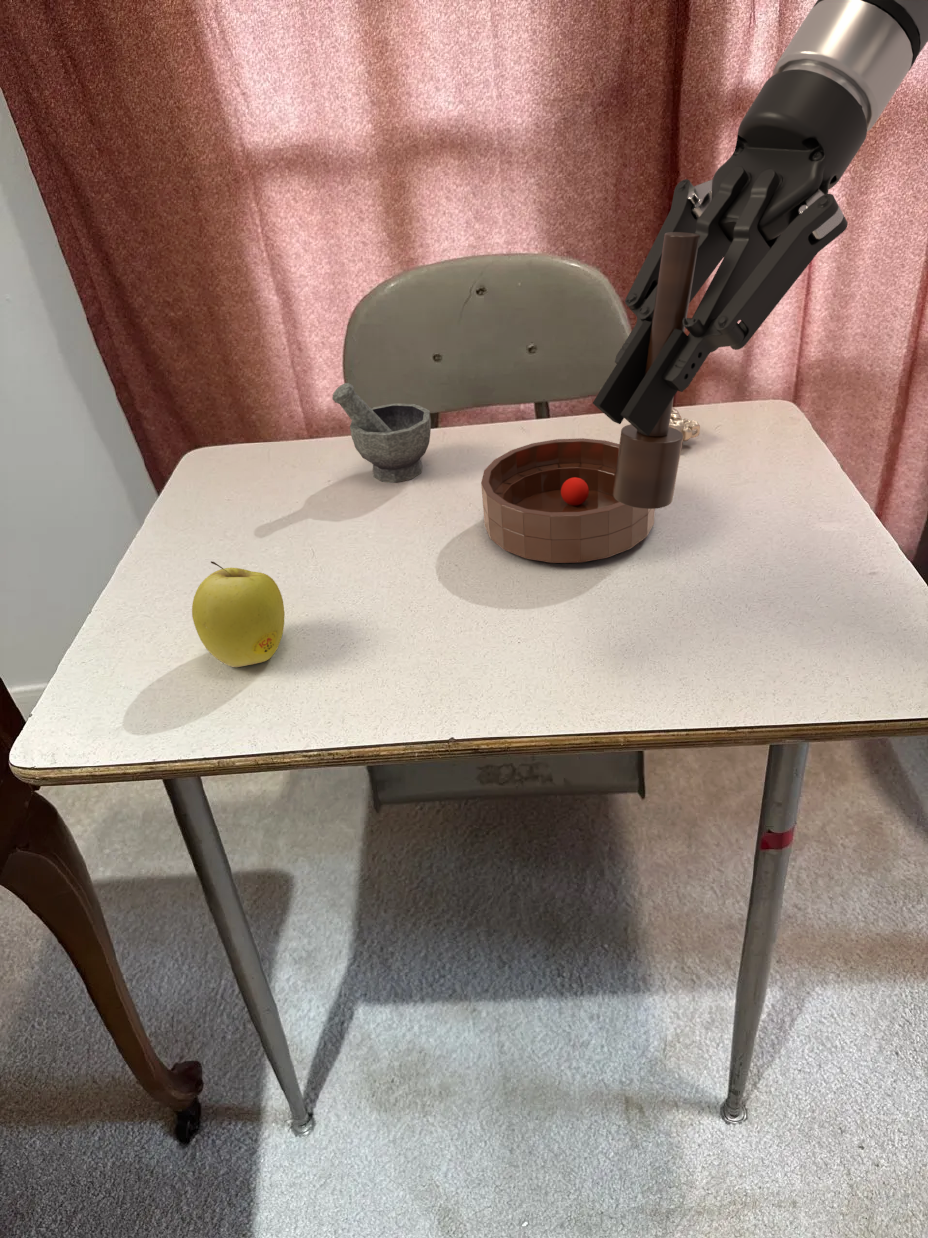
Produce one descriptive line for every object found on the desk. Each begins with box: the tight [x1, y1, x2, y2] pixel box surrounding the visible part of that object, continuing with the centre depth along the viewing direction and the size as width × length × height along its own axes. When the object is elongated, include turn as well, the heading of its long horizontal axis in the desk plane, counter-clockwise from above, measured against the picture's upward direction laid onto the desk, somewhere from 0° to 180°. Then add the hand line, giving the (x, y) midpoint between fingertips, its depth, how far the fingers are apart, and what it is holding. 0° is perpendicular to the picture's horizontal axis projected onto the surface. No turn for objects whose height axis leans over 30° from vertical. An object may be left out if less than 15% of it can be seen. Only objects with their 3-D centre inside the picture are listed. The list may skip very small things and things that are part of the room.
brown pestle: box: [613, 232, 700, 510], centre depth 58 cm, size 4×4×18 cm
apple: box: [191, 561, 286, 668], centre depth 73 cm, size 8×8×10 cm
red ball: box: [561, 477, 589, 505], centre depth 90 cm, size 3×3×3 cm
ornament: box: [669, 406, 701, 442], centre depth 102 cm, size 8×7×4 cm
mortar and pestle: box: [332, 382, 432, 483], centre depth 100 cm, size 11×9×12 cm
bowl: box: [480, 437, 656, 564], centre depth 87 cm, size 18×18×6 cm
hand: (620, 418), depth 58 cm, fingers closed on brown pestle, 2 cm apart
